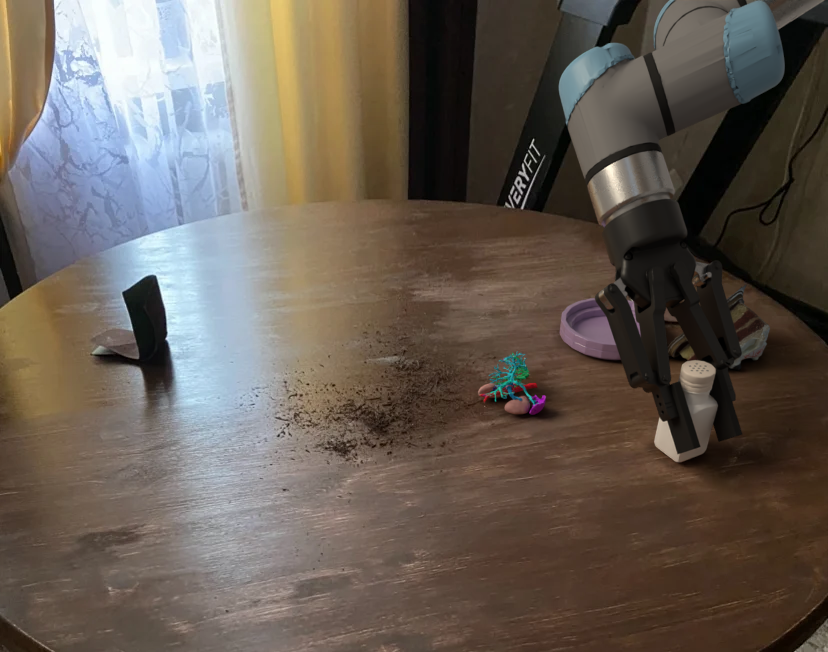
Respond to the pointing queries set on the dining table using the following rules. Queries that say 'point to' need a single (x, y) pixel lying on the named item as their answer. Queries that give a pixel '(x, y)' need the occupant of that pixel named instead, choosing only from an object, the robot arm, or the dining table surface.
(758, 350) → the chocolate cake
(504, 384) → the anatomy model
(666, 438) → the pepper shaker
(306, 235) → the dining table surface
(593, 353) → the dish
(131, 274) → the dining table surface
